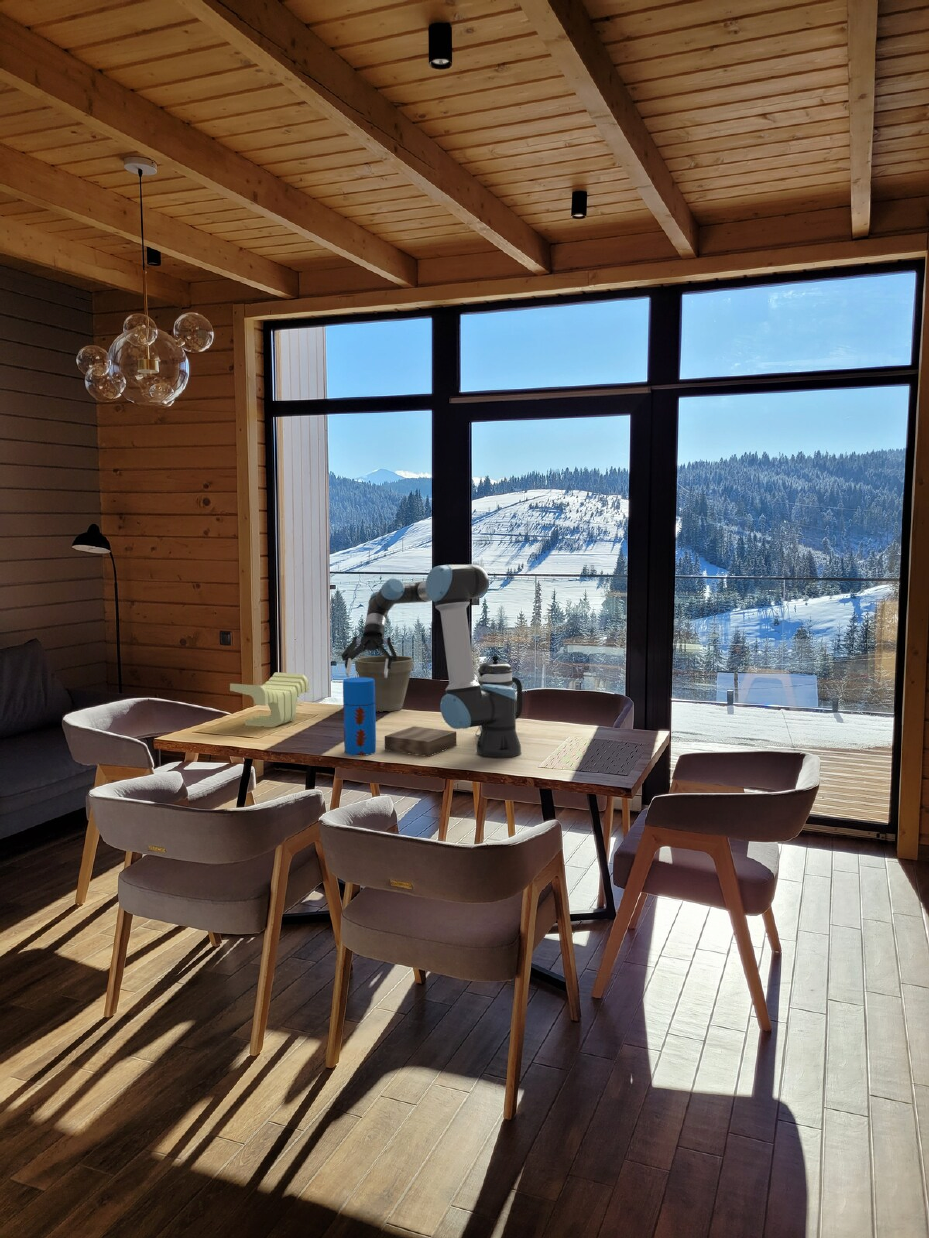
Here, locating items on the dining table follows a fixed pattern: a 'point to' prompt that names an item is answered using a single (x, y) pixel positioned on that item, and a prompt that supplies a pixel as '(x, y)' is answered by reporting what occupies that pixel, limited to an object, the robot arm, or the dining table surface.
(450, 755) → the dining table surface
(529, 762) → the dining table surface
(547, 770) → the dining table surface
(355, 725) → the thermos
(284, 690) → the pale green ribbed part
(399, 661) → the plant pot
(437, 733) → the block
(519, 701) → the coffee press
